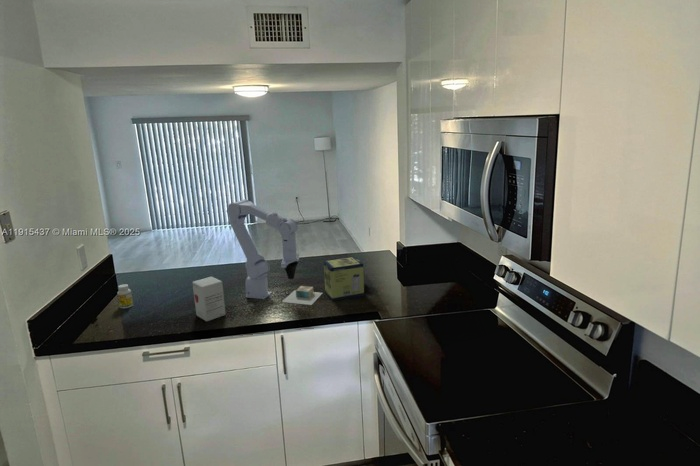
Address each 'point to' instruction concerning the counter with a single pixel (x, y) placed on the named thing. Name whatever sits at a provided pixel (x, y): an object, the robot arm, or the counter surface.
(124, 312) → the counter surface
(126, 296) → the supplement bottle
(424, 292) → the counter surface
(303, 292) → the maple block
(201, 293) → the supplement box
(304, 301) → the grey rubber mat
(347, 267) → the protein box
